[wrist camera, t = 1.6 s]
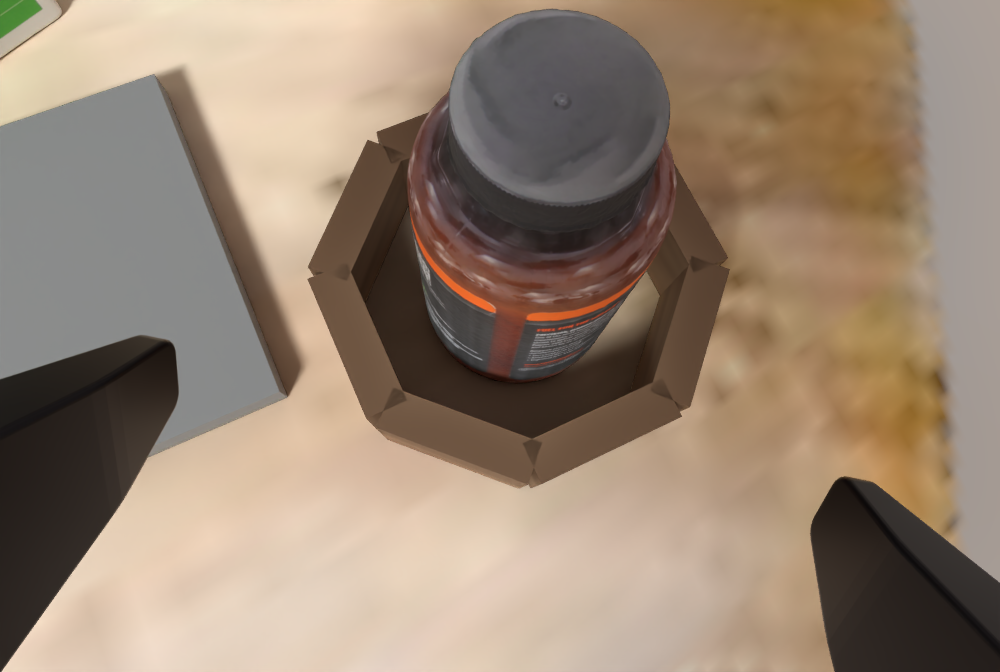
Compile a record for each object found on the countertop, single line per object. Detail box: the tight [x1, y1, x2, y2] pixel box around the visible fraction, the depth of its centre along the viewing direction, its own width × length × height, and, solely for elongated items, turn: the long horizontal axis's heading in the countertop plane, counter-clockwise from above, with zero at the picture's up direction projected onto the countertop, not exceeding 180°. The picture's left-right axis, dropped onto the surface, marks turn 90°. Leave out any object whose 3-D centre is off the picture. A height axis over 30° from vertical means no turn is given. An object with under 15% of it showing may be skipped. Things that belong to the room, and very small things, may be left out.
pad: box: [0, 74, 287, 457], centre depth 21 cm, size 12×12×1 cm
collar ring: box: [308, 113, 730, 488], centre depth 21 cm, size 12×12×3 cm
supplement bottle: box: [407, 9, 677, 383], centre depth 17 cm, size 6×6×11 cm
